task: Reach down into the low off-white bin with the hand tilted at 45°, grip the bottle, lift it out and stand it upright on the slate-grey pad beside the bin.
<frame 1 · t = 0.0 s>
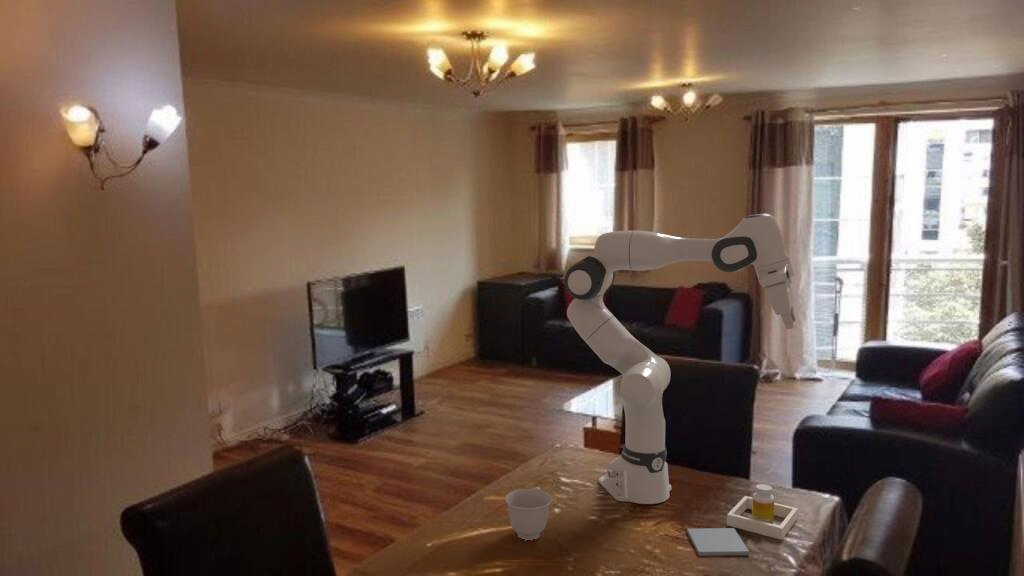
hand: (791, 325, 191), 52 cm above the table, tool tilted 20°, fingers open, 8 cm apart
pad: (717, 543, 184), on the table
supplement bottle: (762, 523, 195), resting in bin
teacup: (530, 533, 190), on the table
bin: (762, 522, 195), on the table
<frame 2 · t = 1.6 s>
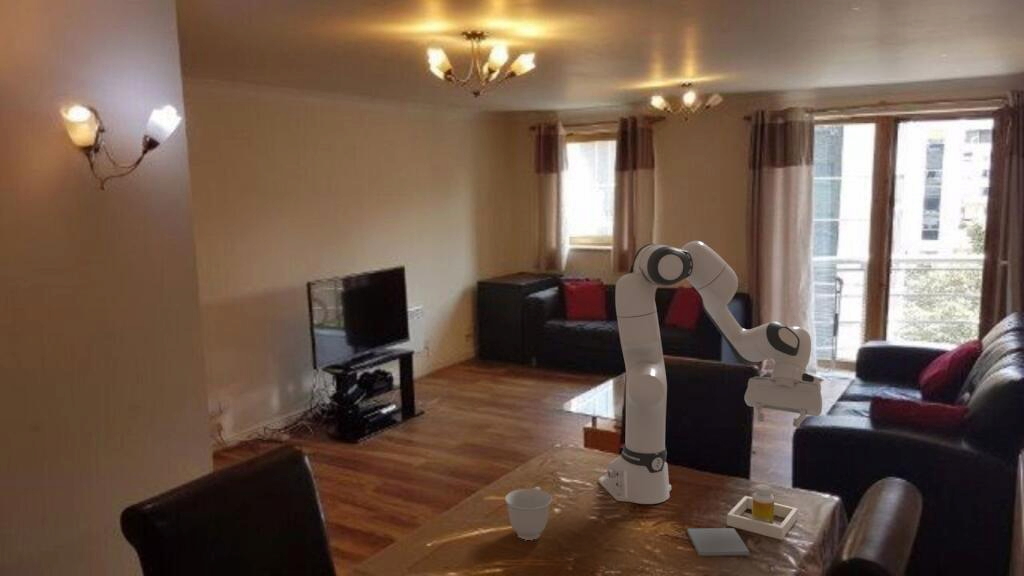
hand: (777, 423, 202), 23 cm above the table, tool tilted 45°, fingers open, 8 cm apart
nothing on the table moved.
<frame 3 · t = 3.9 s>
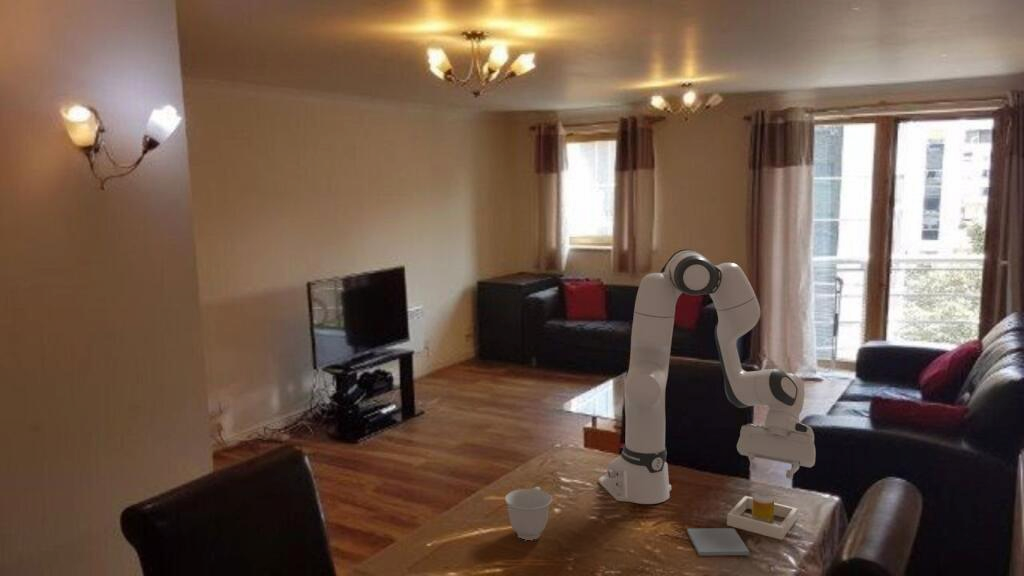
hand: (770, 474, 199), 11 cm above the table, tool tilted 45°, fingers open, 8 cm apart
nothing on the table moved.
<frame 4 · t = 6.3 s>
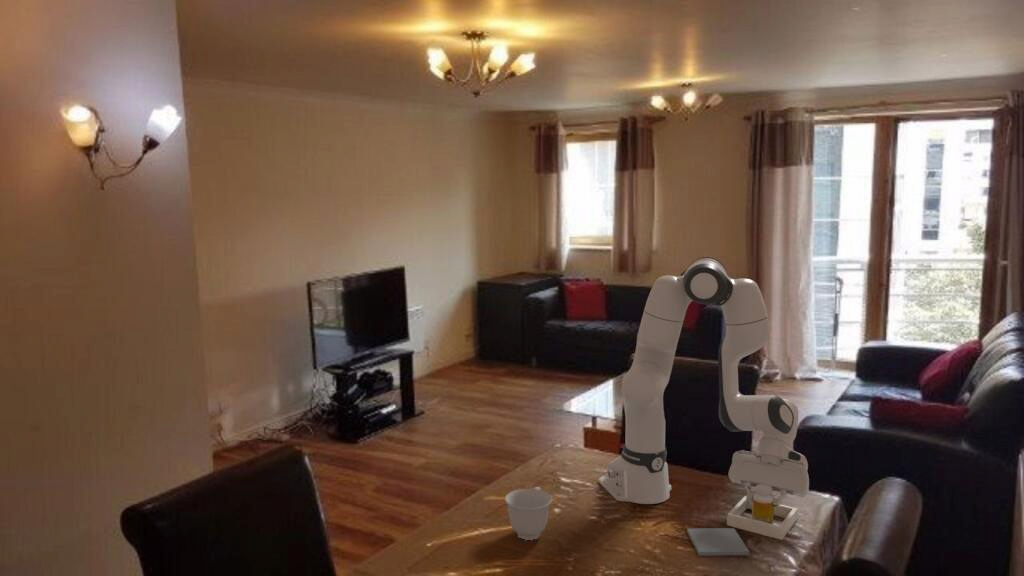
hand: (762, 503, 194), 5 cm above the table, tool tilted 45°, fingers closed on supplement bottle, 5 cm apart
supplement bottle: (762, 522, 195), resting in bin, touching gripper
everything else where it was.
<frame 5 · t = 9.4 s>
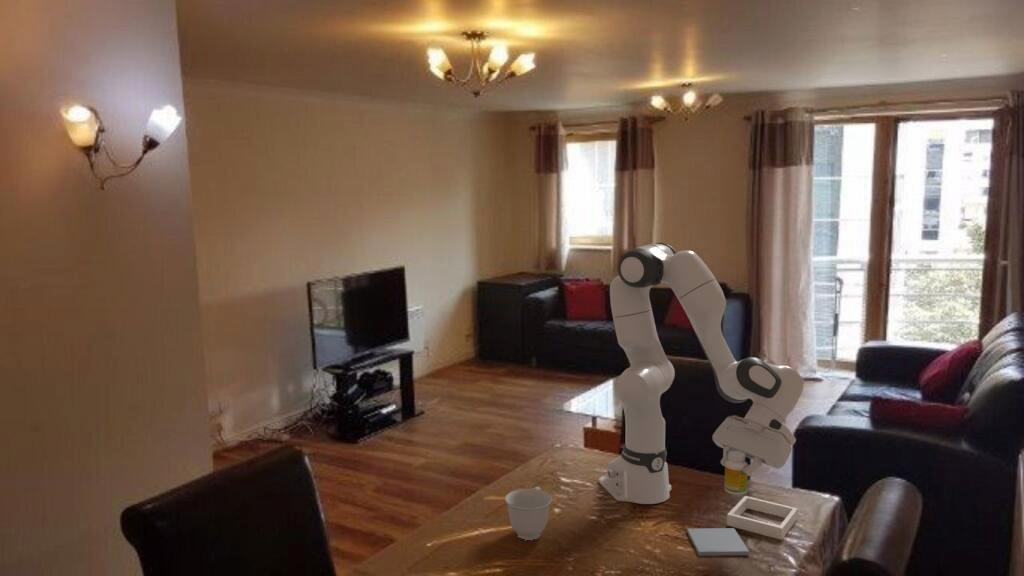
hand: (734, 469, 183), 18 cm above the table, tool tilted 45°, fingers closed on supplement bottle, 5 cm apart
supplement bottle: (735, 491, 185), point 12 cm above the table, touching gripper
everything else where it was.
when the fingers open (8 cm above the table, at t = 12.9 s): supplement bottle drops 1 cm, resting on pad.
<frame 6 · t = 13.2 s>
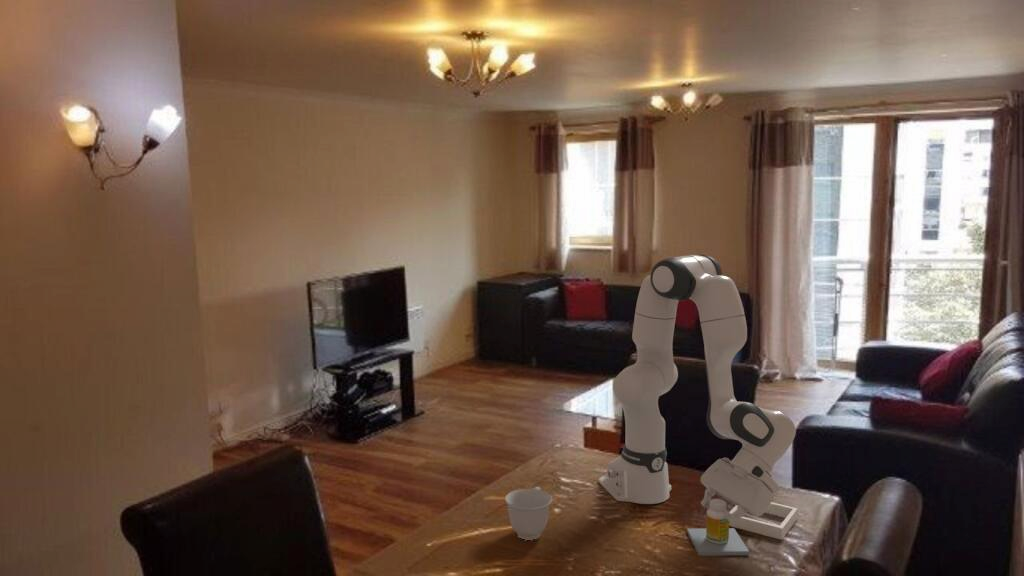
hand: (716, 513, 183), 8 cm above the table, tool tilted 45°, fingers open, 8 cm apart
supplement bottle: (717, 540, 184), point 1 cm above the table, touching pad
everything else where it was.
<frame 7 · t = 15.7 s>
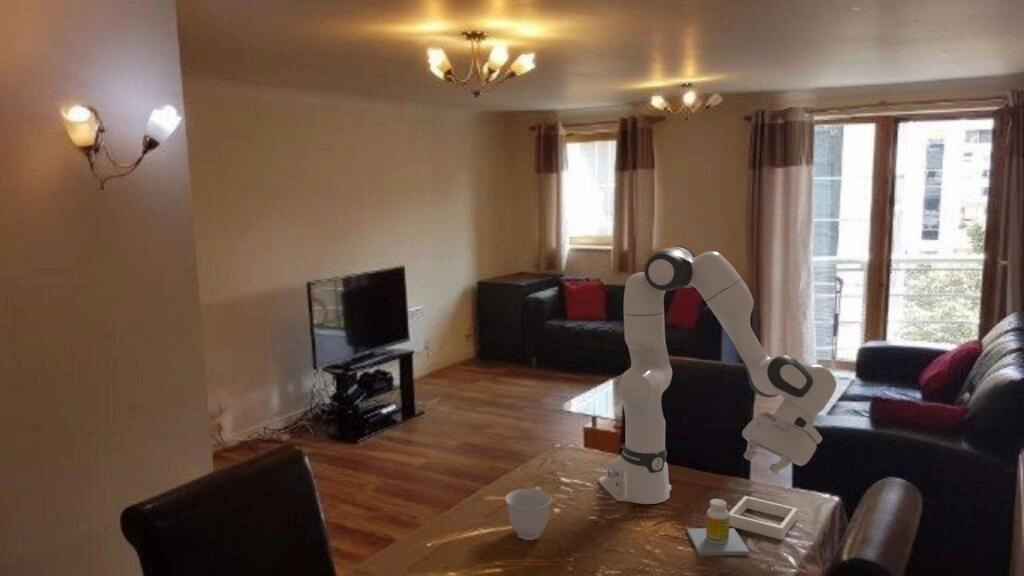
hand: (759, 464, 187), 18 cm above the table, tool tilted 45°, fingers open, 8 cm apart
nothing on the table moved.
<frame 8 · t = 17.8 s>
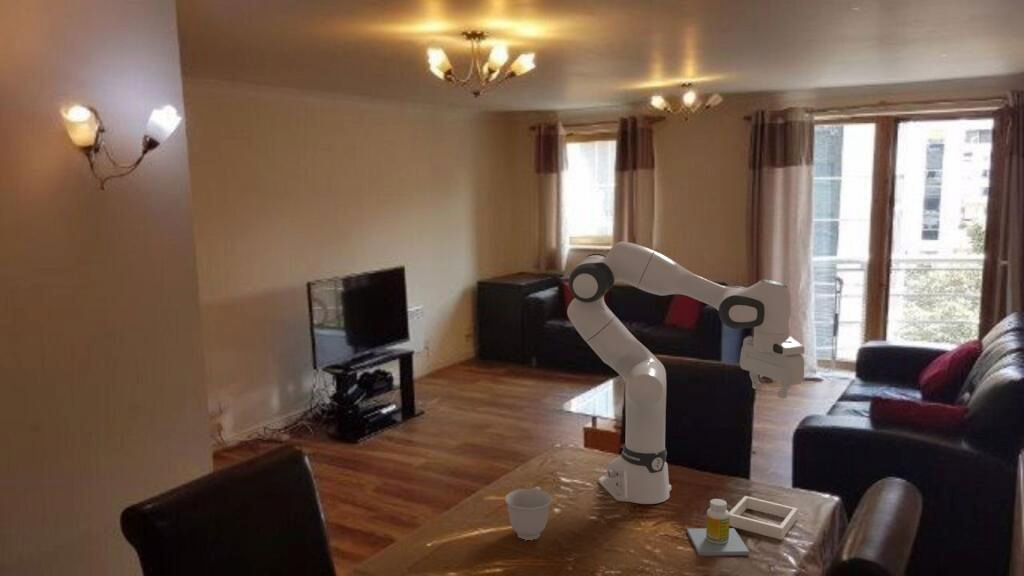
hand: (769, 393, 197), 33 cm above the table, tool pointing down, fingers open, 8 cm apart
nothing on the table moved.
at the end: supplement bottle inside the target area on the pad (0.1 cm from its centre), point 0.8 cm above the pad's base; supplement bottle tilted 0°; the gripper is holding nothing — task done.
